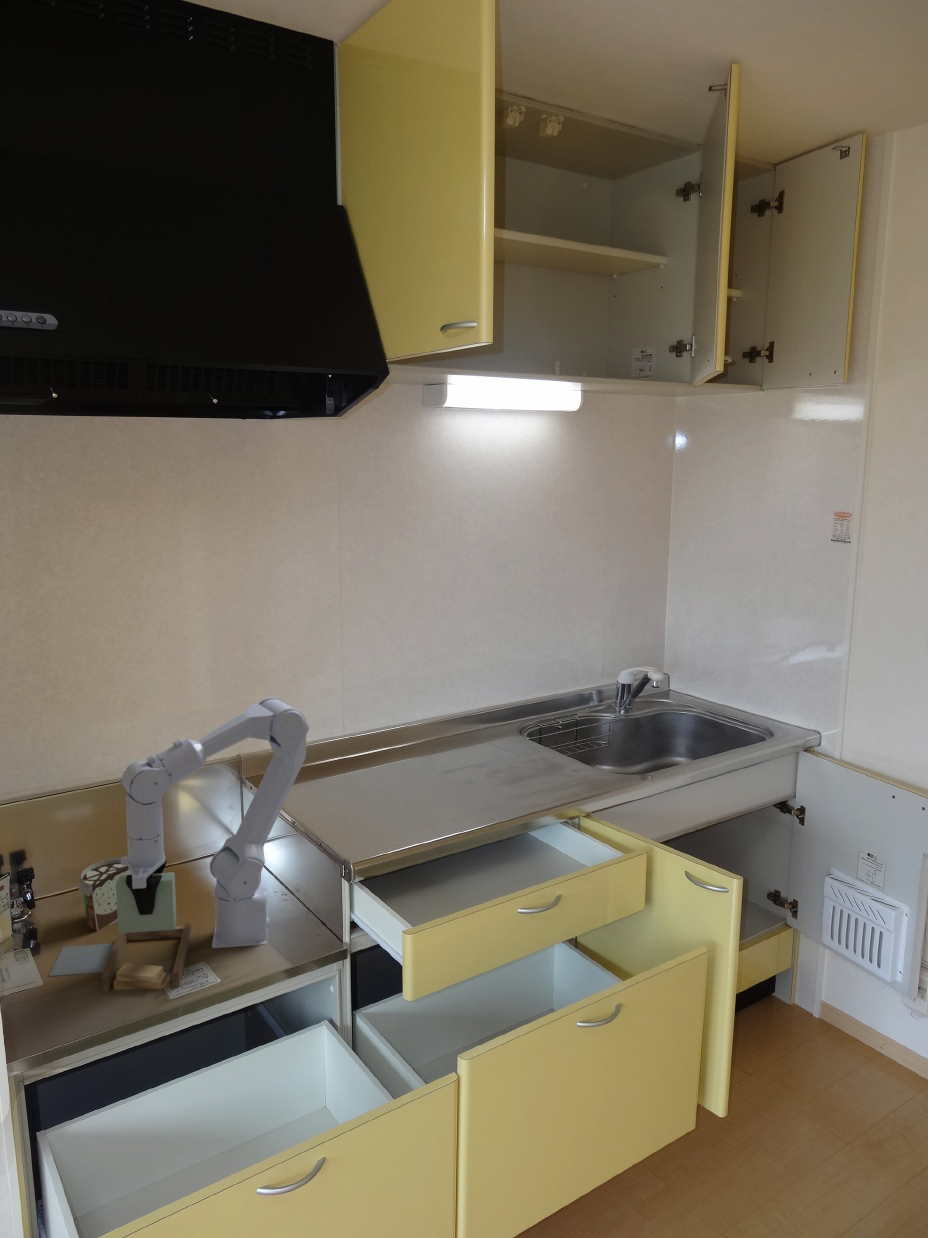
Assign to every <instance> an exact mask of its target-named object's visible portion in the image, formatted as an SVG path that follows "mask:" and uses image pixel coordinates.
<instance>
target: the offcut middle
mask: <svg viewBox="0 0 928 1238" xmlns="http://www.w3.org/2000/svg"><path fill="white" fill-rule="evenodd" d="M166 977H167V972H166V971H165V972H164V971H163V974H162V975H161V977H160V978H159V979H158V980H157V981H156V983H155V984H154V983H144V982H134V981H124V980H116V978H115V979H113V981H112V983H113V984H112V985H113V990H114V989H126V990H160V991H161V990H162V989H163V988H162V986H163V984H164V982H165V981H166Z"/></svg>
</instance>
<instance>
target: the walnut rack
mask: <svg viewBox="0 0 928 1238" xmlns="http://www.w3.org/2000/svg"><path fill="white" fill-rule="evenodd" d="M192 934H193V933H192V924H191V922H186V923H184V925H175V928H174V930H162V931H147V932H133V933H119V934H118V933H117V935H116V937H115V941H114V943H113V944H114V946H113V948H112V951H111V953H110V956H109V959H108V961H107V964H106V966H105V969H104V972H103V973H101V977H100V981H101V982H100V986H101V987H100V988H101V994H108V993H110V992H109V991H110V989H111V985H113V984H112V983H113V982H114V978H115V975H116V973H117V971H118V966H119V964H120V961H121V959H122V956H123V954H124V949H125V948H126V945H127V942H128V941H142V940H143V941H144V940H156V939H160V940H161V939H171V938H173V939H174V938H180V942H179V945H178V949H177V953H176V958H175V961H174V964H173V965H174V966H173V969H172V974H171V975H172V976H171V978H172V988H173V989H174V988H175V989H178V988H180V986H181V982H182V977H183V973H184V968H185V964H186V959H187V955H188V951H189V948H190V947H189V946H190V943H191V938H192Z"/></svg>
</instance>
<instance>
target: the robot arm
mask: <svg viewBox="0 0 928 1238" xmlns="http://www.w3.org/2000/svg"><path fill="white" fill-rule="evenodd" d="M309 730H310V726H309V724H308V722H307V720H306V718H305V715H304V714H303V712H302V711H300V710H299V709H297V708H293V707H292V706H290V705H288V704H286V703H285V702H284V701H283V700H281V699H280V698H277V697H273V696H271V697H265V698H264V699H261V701H259V702H258V703H254V704H250V705H249V707H247V708H246V709H245V710H244V712H241V713H240V714H239V715H237V716H235V717H234V718H232V719H230V720H229V721H227V722H225V723H224V724H222V725H220V726H219V727H218V728H216V729H214V730H212V731H211V732H209V733H208V734H206V735H204V736H202V737H201V738H200V739H198V740H193V739H189V738H186V739H183V740H181V739H179V738H178V739H177V740H175V741H173V742H172V746H171V747H168V748H167V749H164V750H162V751H161V752H159V753H158V754H156V755H152V754H151V755H149V756H147V758H146V761H145V760H142V761H141V760H138V761H135V762H133V763H130V764H129V765H127V767H126V768H125V769H126V770H124V771H123V773H122V776H121V778H120V779H119V782H120V785H121V788H122V789H123V790H124V791H125V792H126V793H125V799H126V801H125V802H126V808H125V809H126V810H125V819H126V820H125V821H126V840H127V844H126V845H127V856H125V855H124V856H122V857H121V858H122V859H121V865H127V866H128V868H129V870H130V872H131V874H132V875H127V877H126V885H127V887H128V888H129V889H130V890H131V892H132V894H133V896H134V899H135V902H136V905H137V909H138V912H139V914H140V915H151V914H152V913H153V910H154V905H155V897H156V891H157V887H158V885H159V883H160V881H161V878H162V875H154V876H152V874H153V873H164V870H165V868H166V866H167V863H168V860H167V858H166V854H165V851H164V850H165V848H164V846H165V844H164V843H165V842H164V819H163V817H164V816H163V813H164V812H163V803H162V802H163V801H162V798H163V797H164V795H165V793H166V791H167V790H168V788H170V787H171V786H173V785H175V784H177V783H178V782H180V781H182V780H184V779H186V778H188V777H189V776H191V775H193V774H195V773H196V772H198V771H200V770H201V769H202V770H203V768H204V766H205V764H206V761H207V759H208V758H210V757H212V756H214V755H216V754H217V753H220V752H222V751H224V750H226V749H228V748H230V747H232V746H234V745H237V744H239V743H240V742H243V741H244V740H247V739H249V738H250V739H252V738H253V739H257V740H264V741H268V743H269V746H270V747H271V749H272V753H273V756H272V758H271V760H270V762H269V764H268V767H267V768H266V771H265V772H264V775H263V777H262V779H261V780H260V783H259V785H258V787H257V789H256V791H255V794H254V796H253V798H252V800H251V802H250V804H249V806H248V808H247V810H246V812H245V814H244V816H243V819H242V820H241V823H240V824H239V826H238V829H237V831H236V833H235V834H234V835H232V836H230V837H228V838H226V839H225V841H224V843H223V845H222V847H221V848H220V849H219V850H217V852H215V854H214V855H212V858H210V859H211V860H210V862H209V871H210V874H211V875H212V877H213V878H215V879H216V881H215V882H216V884H215V886H214V908H215V909H214V911H215V913H214V915H215V917H214V918H215V919H214V920H215V927H214V930H213V936H212V937H213V938H212V943H211V948H212V949H220V948H233V947H234V948H235V947H249V946H252V947H253V946H262V945H263V946H265V945H267V941H268V929H269V928H270V917H269V913H268V911H269V910H268V904H269V903H268V901H269V900H268V888H266V887H260V886H261V882H262V881H261V880H262V871H263V868H264V866H265V864H266V863H265V862H266V859H265V858H266V857H265V849H264V848H265V847H264V846H265V844H266V841H267V840H268V838H269V835H270V834H271V832H272V830H273V828H274V825H275V824H276V821H277V819H278V817H279V815H280V813H281V811H282V809H283V806H284V804H285V802H286V800H287V797H288V796H289V794H290V792H291V789H292V787H293V786H294V783H295V782H296V778H298V774H299V773H300V771H301V769H302V766H303V764H304V762H305V760H306V757H307V735H308V732H309Z"/></svg>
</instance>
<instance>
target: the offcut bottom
mask: <svg viewBox="0 0 928 1238" xmlns="http://www.w3.org/2000/svg"><path fill="white" fill-rule="evenodd" d="M171 978H172V976H166V981H165V982H164V984H163V986H162V988H161V989H163V988H169V985H170V982H171ZM122 990H124V991H125V990H127V989H114V988H113V991H122Z"/></svg>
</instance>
